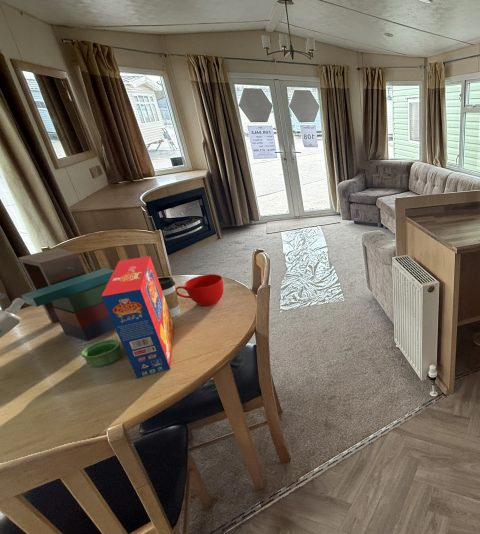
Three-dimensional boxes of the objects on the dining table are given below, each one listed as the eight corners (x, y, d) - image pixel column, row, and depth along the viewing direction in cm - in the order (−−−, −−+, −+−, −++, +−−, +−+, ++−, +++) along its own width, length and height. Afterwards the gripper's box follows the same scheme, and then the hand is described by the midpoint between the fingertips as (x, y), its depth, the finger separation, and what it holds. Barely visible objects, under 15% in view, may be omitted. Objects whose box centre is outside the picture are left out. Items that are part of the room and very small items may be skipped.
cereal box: (170, 368, 104) (140, 289, 93) (136, 378, 100) (101, 296, 89) (174, 325, 126) (150, 256, 114) (146, 331, 122) (119, 260, 110)
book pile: (65, 334, 119) (44, 293, 112) (116, 312, 133) (101, 274, 126) (87, 341, 116) (67, 299, 109) (138, 317, 130) (123, 279, 123)
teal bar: (25, 303, 106) (20, 294, 105) (106, 275, 125) (103, 268, 124) (37, 306, 104) (32, 298, 103) (117, 278, 124) (115, 270, 122)
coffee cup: (174, 320, 129) (162, 285, 123) (152, 320, 128) (139, 285, 122) (189, 309, 136) (178, 275, 130) (167, 308, 136) (156, 275, 130)
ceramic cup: (184, 299, 143) (177, 278, 139) (229, 292, 149) (224, 272, 145) (175, 314, 132) (168, 292, 128) (225, 306, 139) (219, 285, 135)
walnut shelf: (51, 322, 125) (17, 257, 115) (83, 309, 134) (55, 248, 123) (72, 328, 122) (39, 262, 112) (104, 314, 131) (77, 252, 120)
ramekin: (102, 370, 103) (96, 359, 101) (78, 365, 105) (72, 354, 103) (131, 352, 111) (127, 341, 109) (109, 348, 113) (104, 337, 111)
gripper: (-29, 340, 88) (22, 296, 96) (-71, 325, 94) (-20, 285, 102) (-1, 350, 93) (45, 308, 101) (-43, 335, 99) (4, 296, 106)
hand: (12, 296), depth 101 cm, fingers open, 8 cm apart
